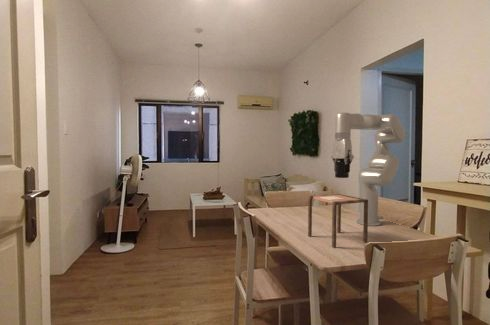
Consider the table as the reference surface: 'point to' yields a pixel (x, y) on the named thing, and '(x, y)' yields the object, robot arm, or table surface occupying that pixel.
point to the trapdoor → (334, 198)
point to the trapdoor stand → (339, 217)
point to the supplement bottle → (340, 169)
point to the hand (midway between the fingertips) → (341, 171)
